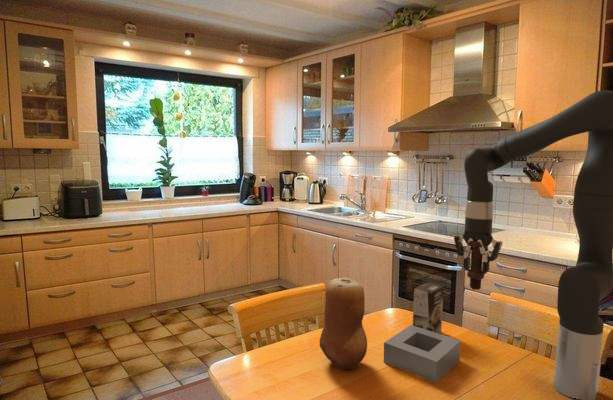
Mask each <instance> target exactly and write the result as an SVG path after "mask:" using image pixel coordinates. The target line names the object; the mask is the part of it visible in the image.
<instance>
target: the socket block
mask: <svg viewBox="0 0 613 400" xmlns="http://www.w3.org/2000/svg"><path fill="white" fill-rule="evenodd" d="M460 354H461V340H459V339H456V338H453V337H450V336H447V335H444V334H441V333H435V332H432V331H429V330H425V329H422V328H419V327H416V326H413V324H409V325H408V326H407V327H405V328H403V329H402V330H401V331H399V332H398V333H396V334H395V335H393V336H392V337H390V338H389V339H387V340H386V341H384V343H383V363H385V364H388V365H391V366H393V367H396V368H397V369H400V370H402V371H405V372H408V373H410V374H413V375H414V376H417V377H420V378H423V379H424V380H427V381H429V382H432V383H435V384H437V383H438V382H439V381H440V379H442V378H443V377H444V376H445V375H446V374H447V373H448V372H449V371H450V370H451V369H452V368H453V367H454V366H455V365H456V364H457V363H459V362H460V359H461V358H460Z"/></svg>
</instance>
